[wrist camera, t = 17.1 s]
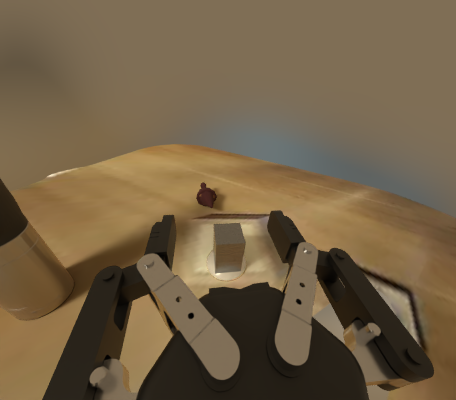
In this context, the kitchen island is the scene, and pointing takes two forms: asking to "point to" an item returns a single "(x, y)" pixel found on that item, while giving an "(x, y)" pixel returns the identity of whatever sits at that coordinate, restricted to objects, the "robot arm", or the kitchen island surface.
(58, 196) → the kitchen island surface
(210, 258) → the saucer
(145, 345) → the kitchen island surface
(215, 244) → the grey block
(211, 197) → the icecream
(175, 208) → the kitchen island surface
